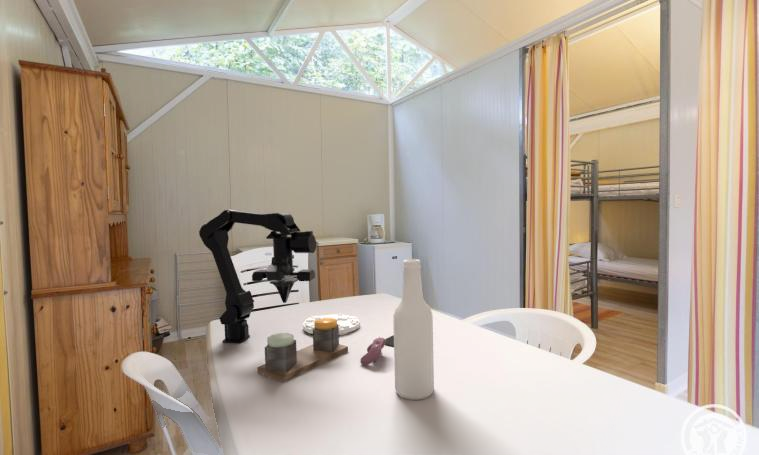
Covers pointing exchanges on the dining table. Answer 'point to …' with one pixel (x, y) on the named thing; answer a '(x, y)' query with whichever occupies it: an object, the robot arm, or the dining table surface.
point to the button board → (301, 355)
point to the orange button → (325, 323)
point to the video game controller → (373, 351)
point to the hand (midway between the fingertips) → (284, 302)
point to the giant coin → (343, 322)
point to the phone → (390, 341)
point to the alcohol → (413, 338)
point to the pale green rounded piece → (280, 340)
